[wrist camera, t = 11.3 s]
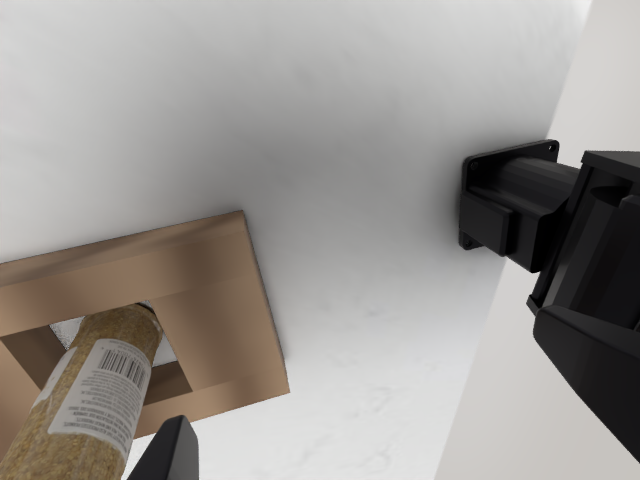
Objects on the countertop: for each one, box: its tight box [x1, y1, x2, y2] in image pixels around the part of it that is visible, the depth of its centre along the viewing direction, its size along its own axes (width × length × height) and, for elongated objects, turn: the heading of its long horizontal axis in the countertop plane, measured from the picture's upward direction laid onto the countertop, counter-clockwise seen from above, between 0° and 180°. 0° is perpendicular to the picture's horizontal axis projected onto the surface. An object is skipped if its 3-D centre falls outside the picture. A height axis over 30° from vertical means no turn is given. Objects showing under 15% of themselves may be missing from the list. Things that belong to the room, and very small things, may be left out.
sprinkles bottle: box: [0, 304, 163, 480], centre depth 15 cm, size 5×5×14 cm
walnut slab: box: [0, 210, 290, 463], centre depth 19 cm, size 18×12×3 cm, turn 99°
